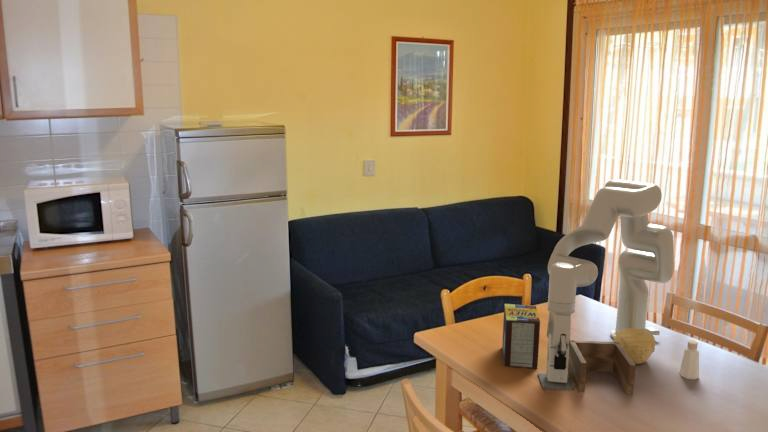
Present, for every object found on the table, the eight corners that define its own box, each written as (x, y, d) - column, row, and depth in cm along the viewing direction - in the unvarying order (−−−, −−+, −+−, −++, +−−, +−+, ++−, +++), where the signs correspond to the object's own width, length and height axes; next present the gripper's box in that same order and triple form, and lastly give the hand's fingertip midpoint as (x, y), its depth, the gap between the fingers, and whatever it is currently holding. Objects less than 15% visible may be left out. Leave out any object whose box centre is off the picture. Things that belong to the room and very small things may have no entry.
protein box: (533, 349, 206) (536, 305, 203) (537, 369, 191) (540, 321, 188) (501, 347, 208) (503, 303, 205) (503, 366, 193) (505, 319, 190)
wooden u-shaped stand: (616, 369, 191) (618, 342, 190) (632, 394, 175) (635, 365, 173) (567, 367, 193) (569, 340, 191) (578, 392, 176) (581, 362, 175)
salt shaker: (687, 380, 185) (691, 345, 182) (675, 372, 190) (679, 338, 188) (703, 379, 186) (707, 344, 184) (690, 371, 191) (694, 337, 189)
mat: (568, 376, 186) (568, 374, 186) (574, 390, 177) (574, 388, 177) (537, 375, 187) (537, 373, 187) (542, 388, 178) (542, 387, 178)
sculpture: (624, 369, 192) (627, 336, 190) (605, 353, 204) (608, 322, 202) (658, 367, 194) (662, 334, 192) (637, 351, 205) (640, 320, 203)
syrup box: (567, 383, 179) (571, 336, 176) (546, 381, 180) (549, 334, 177) (565, 374, 184) (569, 328, 181) (545, 372, 185) (548, 327, 183)
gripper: (542, 295, 186) (539, 351, 190) (553, 315, 170) (549, 376, 173) (568, 296, 186) (564, 352, 189) (581, 316, 169) (576, 377, 172)
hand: (557, 363), depth 181 cm, fingers closed on syrup box, 6 cm apart
